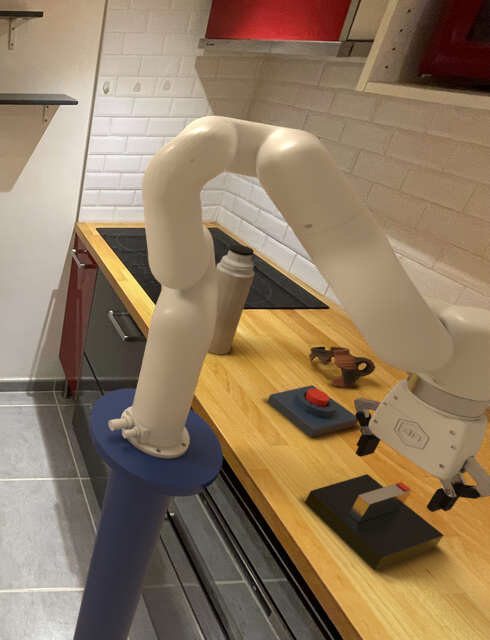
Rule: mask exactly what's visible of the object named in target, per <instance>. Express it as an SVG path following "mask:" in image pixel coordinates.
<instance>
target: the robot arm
mask: <svg viewBox="0 0 490 640" xmlns="http://www.w3.org/2000/svg"><path fill="white" fill-rule="evenodd" d="M224 172H227V173H232V174H235V175H242V176H246V177H251V178H257V179H258V181H259V184H260V185H261V187H262V188H263V190H264V192H265V193H266V195H267V196H268V197H269V199H270V200H271V202H272V203H273V205H274V206H275V208H276V209H277V211H278V212H279V213H280V215H281V216H282V218H283V219H284V220H285V221H286V222H285V223H287V224H288V226H289V228H290V229H291V231H292V232H293V234H294V235H295V237H296V239H297V240H298V241H299V243H300V244H301V246H302V247H303V249H304V250H305V252H306V253H307V255H308V256H309V258H310V260H311V261H312V263H313V265H314V266H315V269H316V270H317V271H318V272H319V273H320V275H321V277H323V279H324V281H325V282H326V283H327V285H328V286H329V287H330V289H331V290H332V292H333V294H334V295H335V297H336V298H337V300H338V301H339V303H340V305H341V306H342V308H343V309H344V311H345V312H346V314H347V316H348V317H349V319H350V320H351V322H352V323H353V325H354V326H355V328H356V329H357V330H358V332H359V333H360V335H361V336H362V338H363V339H364V341H365V342H366V344H368V346H369V347H370V349H371V350H372V352H373V354H374V355H375V356H376V357H377V358H378V359H379V360H381V361H382V362H383V363H384V364H386V365H387V366H389V367H391V368H394V369H396V370H398V371H401V372H402V371H403V372H405V373H406V374H408V377H407V378H406V379H400V380H399V381H398V382H397V383H396V384H395V385H394V386H393V387H392V388H391V389H390V390H389V392H388V393H387V394H386V395H385V396H384V398H383V399H382V401H378V400H373V399H370V398H365V397H359V398H355V399H354V400H353V403H354V411H356V413H355V414H354V415H355V416H356V418H357V420H358V422H357V423H358V424H359V430H358V431H359V432H360V437H359V438H358V441H357V442H356V446H357V449H356V451H355V455H356V456H358V457H361V458H363V457H366V456H369V455H372V454H375V451H376V450H377V448H378V446H379V443H380V442H381V441H382V443H384V444H386V445H387V446H389V447H390V448H391V449H392V450H394V451H396V452H397V453H398V454H400V455H401V456H403V457H404V458H405V459H407V460H408V461H410V463H412V464H414V465H416V466H417V467H418V468H420V469H421V470H422V471H424V472H426V473H427V474H429V475H430V476H432V477H434V478H435V479H438V481H439V482H440V485H441V488H438V489H436V490H435V492H434V494H433V495H432V497H431V499H430V500H429V501H428V502H427V504H426V508H427V510H428V511H429V512H430V513H435V512H437V511H440V510H442V511H444V512H449V511H450V510H451V509H453V507H454V506H455V505H456V502H457V501H458V499H459V498H465V499H472V500H476V499H480V498H487V497H490V474H489V473H488V472H487V471H486V470H485V469H484V468H483V467H482V465H481V464H480V462H478V461H477V460H476V457H477V456H478V454H479V451H480V449H481V447H482V444H483V442H484V438H485V434H486V430H487V425H488V417H487V415H485V411H486V410H487V408H488V407H489V405H490V310H489V309H485V308H481V307H476V306H469V305H468V306H467V305H457V304H453V303H449V302H446V301H444V300H440V299H437V298H434V297H432V296H431V297H430V296H427V295H425V294H422V293H420V291H419V289H418V288H417V287H416V285H415V284H414V282H413V281H412V279H411V277H410V276H409V274H408V273H407V271H406V269H405V267H404V266H403V264H402V263H401V261H400V259H399V258H398V256H397V254H396V252H395V250H394V248H393V246H392V244H391V242H390V240H389V238H388V236H387V235H386V233H385V231H384V230H383V228H382V227H381V225H380V223H379V222H378V221H377V219H376V217H374V215H373V214H372V212H371V211H370V209H369V208H368V206H367V205H366V204H365V202H364V201H363V199H362V198H361V196H360V195H359V194H358V191H356V189H355V188H354V186H353V185H352V183H351V182H350V181H349V179H348V177H347V176H346V174H344V172H343V170H342V169H341V168H340V166H339V164H337V162H336V160H335V159H334V157H333V156H332V155H331V153H330V152H329V151H328V149H327V148H326V146H325V145H324V144H323V143H322V142H321V140H320V138H318V137H317V136H316V135H314V134H312V133H310V132H308V131H305V130H301V129H297V128H291V127H284V126H280V125H273V124H266V123H262V122H255V121H250V120H244V119H238V118H233V117H227V116H222V115H206V116H202V117H199V118H197V119H194V120H193V121H191V122H190V123H188V125H186V126H185V128H184V129H182V131H180V133H178V134H177V135H176V136H175V137H174V138H171V140H170V141H168V142H167V143H166V144H165V145H163V146H162V147H160V148H159V150H157V152H156V153H155V154H154V155H153V156H152V157H151V159H150V161H148V164H147V166H146V168H145V170H144V173H143V176H142V182H141V199H142V208H143V216H144V229H145V238H146V246H147V260H148V266H149V269H150V272H151V274H152V275H153V277H154V279H155V280H156V281H157V282H158V283H159V284H160V286H161V291H160V293H159V296H158V298H157V301H156V304H155V307H154V308H153V312H152V315H151V318H150V322H149V327H148V334H147V339H146V344H145V349H144V353H143V357H142V363H141V368H140V372H139V375H138V379H137V380H138V381H137V385H136V388H135V389H136V393H135V397H134V401H133V406H131V407H129V408H127V409H126V410H125V411H124V412H123V413H122V416H121V419H114V420H109V422H108V425H109V428H110V430H112V431H115V430H119V429H122V435H123V437H124V438H127V440H128V441H129V442H130V443H131V444H132V445H134V446H135V447H136V448H138V449H139V450H141V451H143V452H144V453H146V454H149V455H152V456H155V457H159V458H166V459H168V458H176V457H179V456H181V455H183V454H184V453H185V452H186V451H187V449H188V446H189V443H190V437H189V433H188V431H187V429H186V428H185V423H186V420H187V417H188V413H189V410H190V409H191V406H192V403H193V399H194V396H195V393H196V390H197V386H198V384H199V383H198V382H199V379H200V376H201V372H202V370H203V366H204V362H205V359H206V358H207V355H208V353H209V352H208V350H209V347H210V345H211V342H212V338H213V335H214V330H215V323H216V315H217V304H218V288H217V277H216V266H217V265H216V256H215V245H214V239H213V236H212V233H211V232H210V229H208V227H207V226H206V225H205V224H204V223H203V209H202V201H201V193H202V191H203V189H204V186H206V184H208V183H209V182H210V181H212V180H213V179H215V178H217V177H218V176H220V175H221V174H223V173H224ZM370 411H373V414H371V412H370ZM465 473H468V474H469V476H470V477H471V478H472V479H473V480H474V481H475V483H476V485H471V484H467V482H466V479H465V477H464V475H463V474H465Z"/></svg>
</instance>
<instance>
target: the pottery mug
mask: <svg viewBox="0 0 490 640" xmlns="http://www.w3.org/2000/svg"><path fill="white" fill-rule="evenodd" d="M309 349H310V354H309V355H308V358H309V361H310V362H313V361H314V359H315V358H317V359H318V360H319V361H320V362H321V363H322V364H324V365H327V364H328V363H331V362H332V358H334V359H333V360H334V364H335V366H336V367H337V368H339V369H340V371H341V375H339V376H336V375H335V376H334V375H332V376H331V383H332V386H333V387H339V388H340V387H346V388H347V387H349V388H351V387H355V386H356V383H357V381H358V379H360V378H361V377H366V376H370V375H371V374H372V373H374V371H375V369H376V366H375V362H374V361H373V360H372V359H370V358H368V357H362V356H354V355H353V354H352V353H350V348H348V347H342V346H330V349H326V346H314V347H311V348H309ZM363 364H365V367H364V368H362V369H359V366H360V365H363Z"/></svg>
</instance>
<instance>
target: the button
mask: <svg viewBox="0 0 490 640" xmlns="http://www.w3.org/2000/svg"><path fill="white" fill-rule="evenodd" d="M329 397H330V396H329V395H328V394H327V393H326V392H324V391H323V390H320V389H319V390H318V388H317V389H309V390H308V392H307V394H306V396H305V398H306V400H308V401H309V402H311V403H312V404H315V405H317V406H321V407H325V406H326V405H327V403H328V401H329Z"/></svg>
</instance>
